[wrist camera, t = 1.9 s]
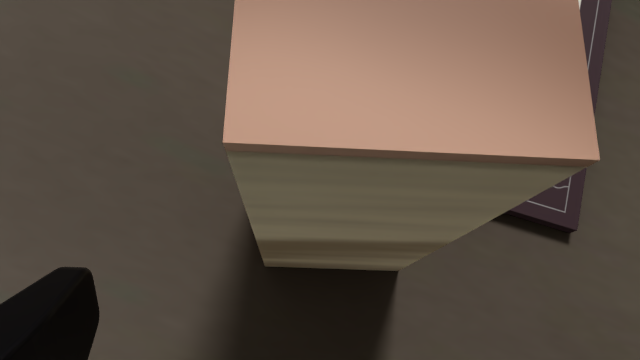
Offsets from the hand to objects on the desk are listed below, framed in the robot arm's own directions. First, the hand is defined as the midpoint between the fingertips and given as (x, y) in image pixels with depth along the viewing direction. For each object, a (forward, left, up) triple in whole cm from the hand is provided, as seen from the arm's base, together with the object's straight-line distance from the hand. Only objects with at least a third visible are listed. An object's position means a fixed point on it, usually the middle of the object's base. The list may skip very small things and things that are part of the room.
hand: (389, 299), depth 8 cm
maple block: (+4, -2, -11) cm, 12 cm away
